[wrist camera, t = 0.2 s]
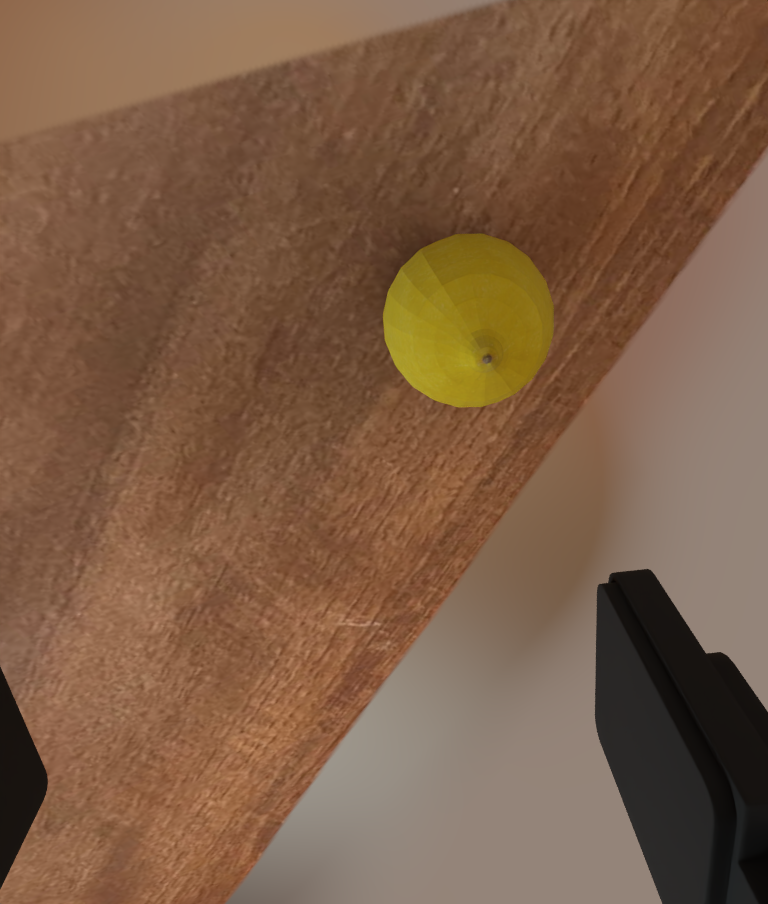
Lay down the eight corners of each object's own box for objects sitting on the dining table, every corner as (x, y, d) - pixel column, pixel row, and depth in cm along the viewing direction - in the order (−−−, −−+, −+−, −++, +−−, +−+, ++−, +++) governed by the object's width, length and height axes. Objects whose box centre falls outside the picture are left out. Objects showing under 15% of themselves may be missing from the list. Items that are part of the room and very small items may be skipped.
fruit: (500, 196, 25) (554, 221, 18) (544, 335, 27) (608, 408, 20) (359, 256, 26) (356, 303, 19) (412, 386, 28) (428, 474, 21)
